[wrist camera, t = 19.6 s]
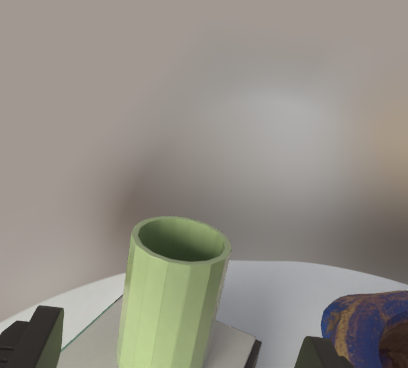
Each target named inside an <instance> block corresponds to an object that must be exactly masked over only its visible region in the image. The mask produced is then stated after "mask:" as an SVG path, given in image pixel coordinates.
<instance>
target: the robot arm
mask: <svg viewBox="0 0 408 368" xmlns="http://www.w3.org/2000/svg"><path fill="white" fill-rule="evenodd" d="M63 318H64V309H63V308H59V307H50V306H41V305H39V306H38V307H37V309H36V311H35V312H34V314H33V316H32V318H31V320H30V322H25V321H16V322H14V323H13V324H12V325H11V326H9V327H8V328H7V329H5V330H4V331H3V332H2V333H1V335H0V368H56V367H57V364H58V361H59V357H60V352H61V344H62V331H63ZM294 368H355V367H354V366H353V365H352V364H351V363H350V362H349V361H348V360H347V359H346V357H345V356H339V355H338V353H337V351H336V349H335V347H334V345H333V343H332V341H331V340H330V339H328V338H320V337H311V336H307V337H305V339H304V341H303V344H302V347H301V349H300V352H299V355H298V358H297V361H296V364H295V367H294Z"/></svg>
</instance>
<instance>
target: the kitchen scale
mask: <svg viewBox="0 0 408 368" xmlns="http://www.w3.org/2000/svg"><path fill="white" fill-rule="evenodd" d="M122 301H123V295H122V296H121V297H119V298H118V299H117V300H116V301H115V302H114V303H113V304H111V305H110V306H109V307H108V308H107V309H106V310H105V311H104V312H103V313H101V314H100V315H99V316H98V317H97V318H96V319H95V320H94V321H93V322H92V323H90V324H89V325H88V326H87V327H86V328H85V329H84V330H83V331H82V332H80V333H79V334H78V335H77V336H76V337H75V338H74V339H73V340H72V341H71V342H69V343H68V344H67V345H66V346H65V347H64V348H63V349H62V350H61V352H60V357H59V361H58V364H57V367H56V368H119V365H118V362H117V357H116V352H117V350H116V347H117V340H118V332H119V324H120V317H121V309H122ZM261 344H262V342H261V341H258V340H256V337H255V336H252V335H250V334H247V333H245V332H243V331H240V330H238V329H235V328H233V327H231V326H228V325H226V324H223V323H221V322H218V321H216V320H215V325H214V329H213V333H212V338H211V342H210V346H209V351H208V355H207V359H206V362H205V365H204V368H255V365H256V362H257V358H258V355H259V351H260V348H261Z"/></svg>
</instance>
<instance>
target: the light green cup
mask: <svg viewBox="0 0 408 368" xmlns="http://www.w3.org/2000/svg"><path fill="white" fill-rule="evenodd" d="M230 255H231V244H230V240H229V239H228V238H227V237H226V236H225V235H224V234H223V233H222V232H221V231H220V230H218V229H216V228H214V227H212V226H211V225H209V224H207V223H204V222H201V221H197V220H195V219H190V218H184V217H177V216H158V217H154V218H149V219H145V220H143V221H141V222H140V223H139V224H137V225H135V226H134V228H133V231H132V234H131V239H130V247H129V255H128V263H127V270H126V278H125V286H124V293H123V301H122V309H121V317H120V324H119V332H118V340H117V347H116V350H117V352H116V357H117V362H118V365H119V368H204V365H205V362H206V359H207V355H208V351H209V346H210V342H211V338H212V333H213V329H214V325H215V320H216V316H217V311H218V307H219V303H220V298H221V294H222V290H223V285H224V281H225V277H226V272H227V268H228V264H229V259H230Z"/></svg>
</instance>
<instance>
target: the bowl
mask: <svg viewBox="0 0 408 368" xmlns="http://www.w3.org/2000/svg"><path fill="white" fill-rule="evenodd" d="M321 331H322V336H323V338H328V339H330V340H331V341H332V343H333V345H334V347H335V349H336V351H337V353H338V355H339V356H345V357H346V359H347V360H348V361H349V362H350V363H351V364H352V365H353V366H354V367H355V368H408V291H392V292H384V293H376V294H354V295H347V296H343V297H340V298H338V299H337V300H335V301H333V302H332V303H331V304H330V305H329V306H328V307H327V308H326V309H325V310H324V312H323V316H322V321H321Z"/></svg>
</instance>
